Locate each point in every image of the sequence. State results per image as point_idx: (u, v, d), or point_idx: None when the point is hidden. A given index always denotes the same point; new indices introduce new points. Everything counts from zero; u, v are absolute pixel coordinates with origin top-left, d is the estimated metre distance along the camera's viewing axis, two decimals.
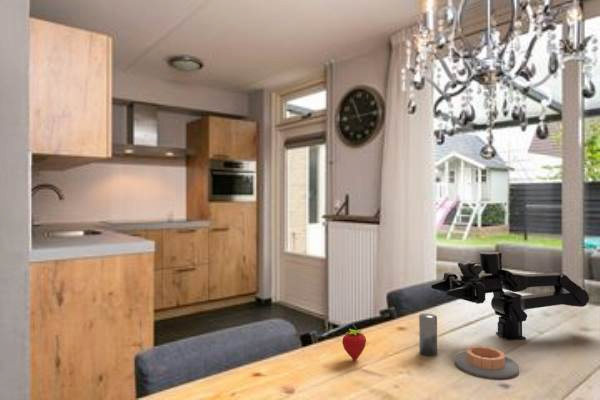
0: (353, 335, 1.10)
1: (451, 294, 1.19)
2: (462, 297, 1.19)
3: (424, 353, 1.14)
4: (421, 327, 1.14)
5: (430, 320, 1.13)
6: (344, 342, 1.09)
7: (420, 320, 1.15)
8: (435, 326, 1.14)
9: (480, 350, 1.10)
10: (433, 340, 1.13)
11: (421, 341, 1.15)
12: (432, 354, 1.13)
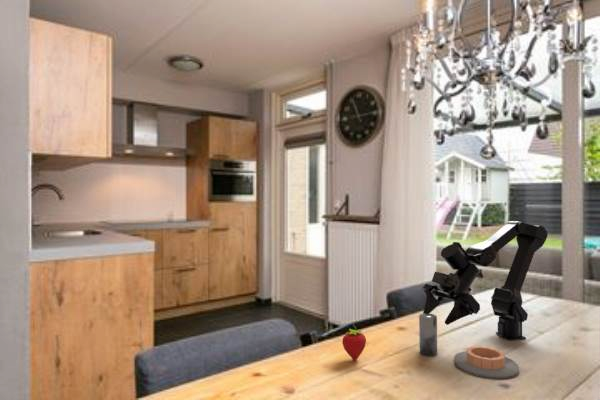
0: (353, 335, 1.10)
1: (450, 321, 1.12)
2: (460, 316, 1.12)
3: (424, 353, 1.14)
4: (421, 327, 1.14)
5: (430, 320, 1.13)
6: (344, 342, 1.09)
7: (420, 320, 1.15)
8: (435, 326, 1.14)
9: (480, 350, 1.10)
10: (433, 340, 1.13)
11: (421, 341, 1.15)
12: (432, 354, 1.13)
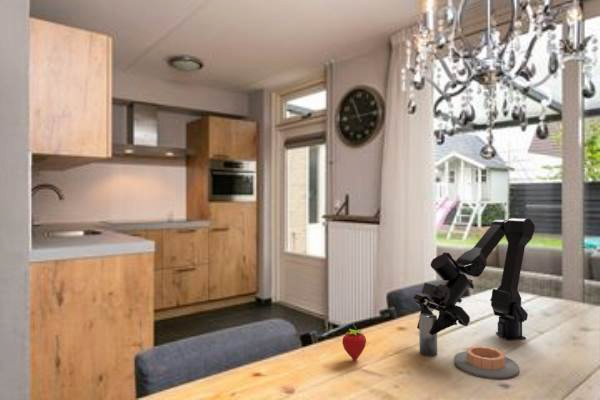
0: (353, 335, 1.10)
1: (435, 332, 1.12)
2: (445, 327, 1.13)
3: (424, 353, 1.14)
4: (421, 327, 1.14)
5: (430, 320, 1.13)
6: (344, 342, 1.09)
7: (420, 320, 1.15)
8: None
9: (480, 350, 1.10)
10: (433, 340, 1.13)
11: (421, 341, 1.15)
12: (432, 354, 1.13)
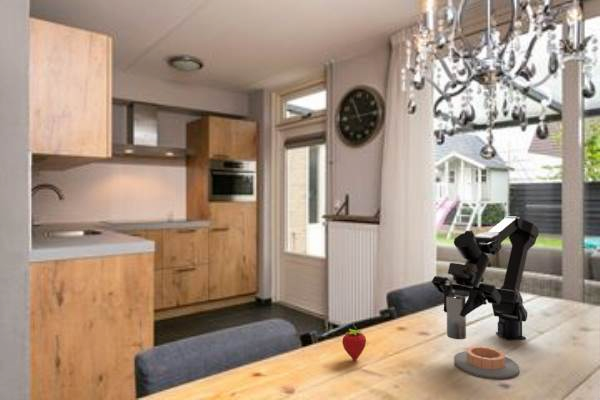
0: (353, 335, 1.10)
1: (466, 313, 1.07)
2: (475, 307, 1.08)
3: (455, 336, 1.08)
4: (451, 309, 1.08)
5: (461, 301, 1.08)
6: (344, 342, 1.09)
7: (449, 302, 1.09)
8: None
9: (480, 350, 1.10)
10: (464, 322, 1.08)
11: (451, 324, 1.09)
12: (462, 337, 1.08)
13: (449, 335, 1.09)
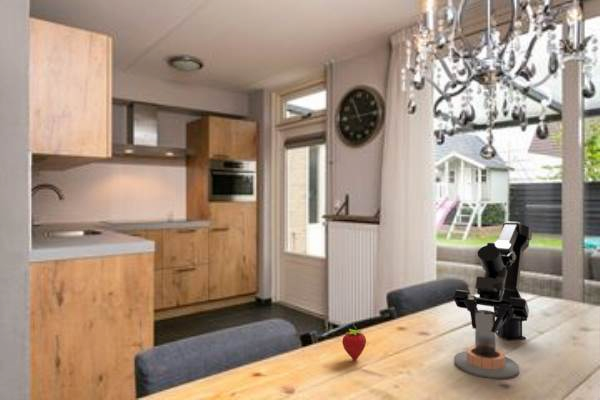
0: (353, 335, 1.10)
1: (497, 329, 1.04)
2: (504, 321, 1.06)
3: (486, 354, 1.04)
4: (482, 326, 1.04)
5: (493, 316, 1.04)
6: (344, 342, 1.09)
7: (480, 318, 1.05)
8: None
9: None
10: (495, 338, 1.05)
11: (482, 341, 1.04)
12: (494, 353, 1.04)
13: (480, 352, 1.05)
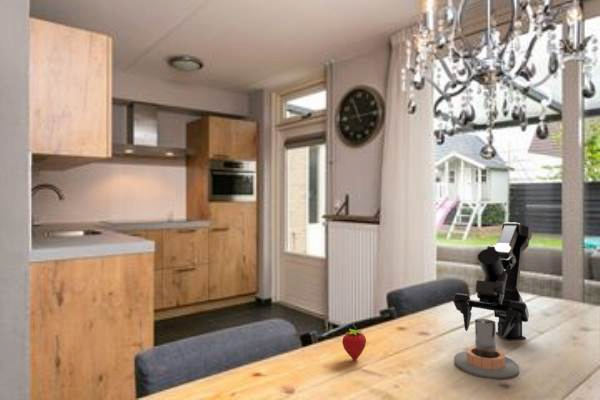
0: (353, 335, 1.10)
1: (505, 334, 1.03)
2: (512, 327, 1.04)
3: None
4: (482, 335, 1.04)
5: (493, 326, 1.04)
6: (344, 342, 1.09)
7: (480, 327, 1.05)
8: (495, 331, 1.05)
9: None
10: (495, 347, 1.05)
11: (482, 350, 1.04)
12: None
13: None
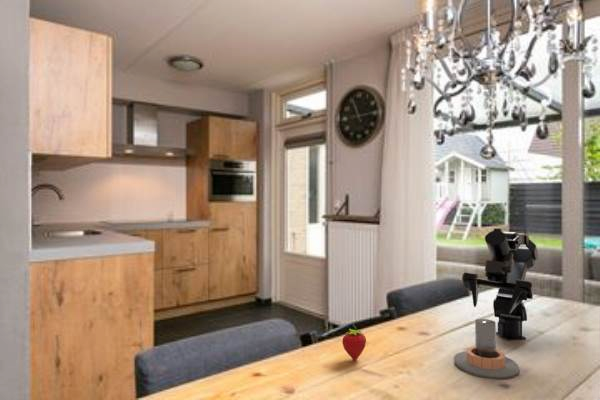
0: (353, 335, 1.10)
1: (512, 310, 1.10)
2: (517, 303, 1.12)
3: None
4: (482, 335, 1.04)
5: (493, 326, 1.04)
6: (344, 342, 1.09)
7: (481, 327, 1.05)
8: None
9: None
10: (495, 347, 1.05)
11: (482, 350, 1.04)
12: None
13: None
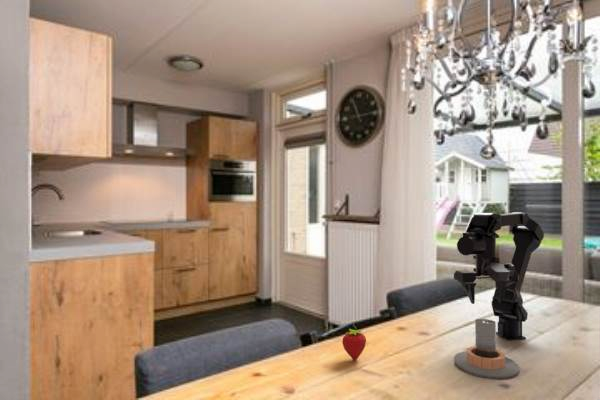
0: (353, 335, 1.10)
1: None
2: None
3: None
4: (482, 335, 1.04)
5: (493, 326, 1.04)
6: (344, 342, 1.09)
7: (481, 327, 1.05)
8: None
9: None
10: (495, 347, 1.05)
11: (482, 350, 1.04)
12: None
13: None
